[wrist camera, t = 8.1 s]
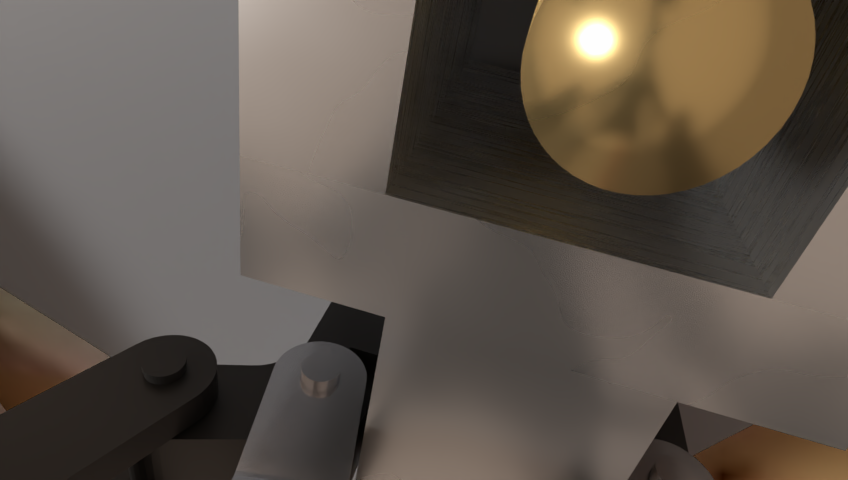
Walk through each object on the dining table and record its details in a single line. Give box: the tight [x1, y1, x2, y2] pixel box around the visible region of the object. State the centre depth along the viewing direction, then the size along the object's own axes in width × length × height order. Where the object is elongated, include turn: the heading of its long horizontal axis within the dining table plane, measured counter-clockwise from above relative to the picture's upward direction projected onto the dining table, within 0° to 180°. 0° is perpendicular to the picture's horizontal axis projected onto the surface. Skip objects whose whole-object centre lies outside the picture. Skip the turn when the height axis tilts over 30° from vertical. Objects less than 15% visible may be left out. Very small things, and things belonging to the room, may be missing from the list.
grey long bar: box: [238, 0, 848, 480], centre depth 9 cm, size 16×6×5 cm, turn 170°
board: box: [0, 0, 753, 480], centre depth 12 cm, size 20×18×1 cm
